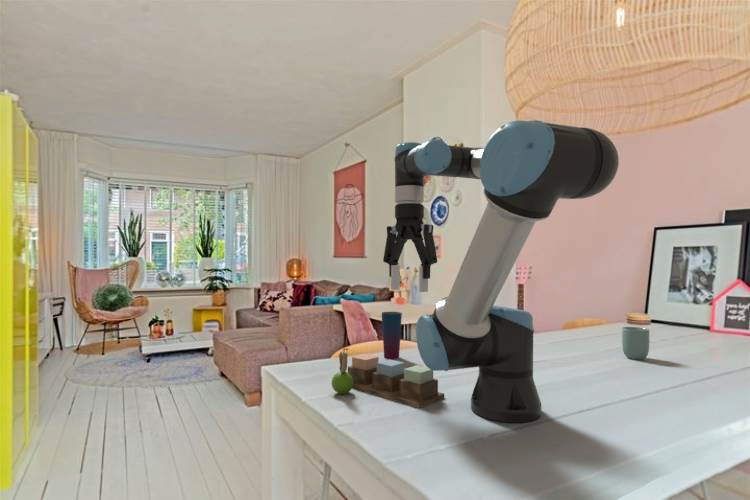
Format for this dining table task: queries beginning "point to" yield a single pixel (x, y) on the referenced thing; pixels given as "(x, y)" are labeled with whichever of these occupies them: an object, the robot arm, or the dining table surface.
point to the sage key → (418, 374)
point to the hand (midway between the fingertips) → (409, 290)
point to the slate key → (390, 368)
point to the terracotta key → (364, 362)
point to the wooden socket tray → (395, 387)
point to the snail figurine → (342, 376)
